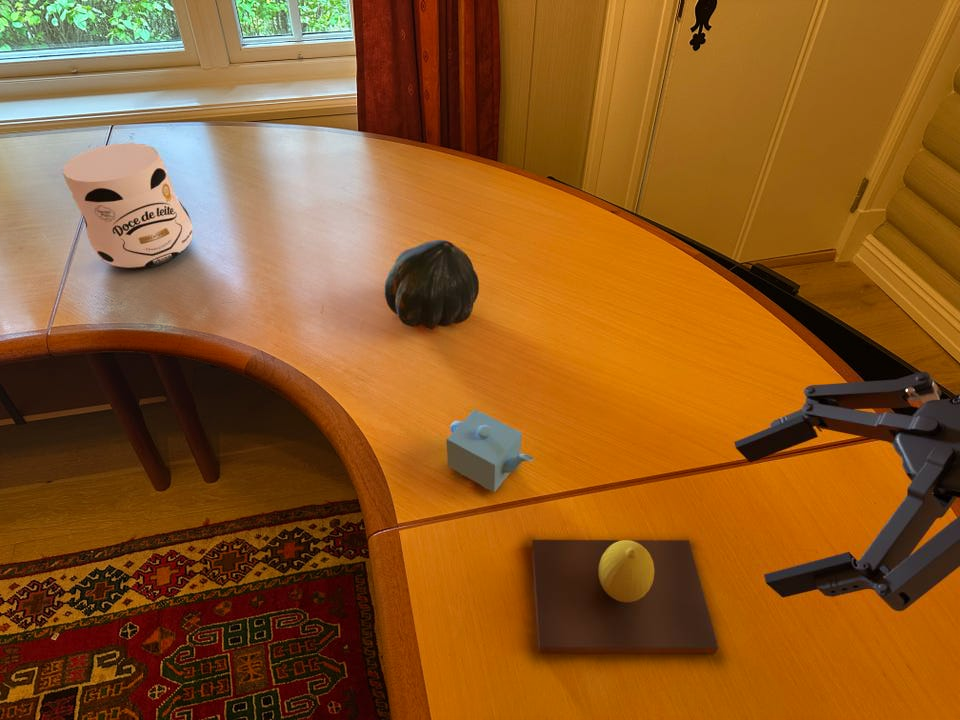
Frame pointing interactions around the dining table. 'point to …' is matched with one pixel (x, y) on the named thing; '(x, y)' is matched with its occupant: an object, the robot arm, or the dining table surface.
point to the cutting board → (618, 602)
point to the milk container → (128, 205)
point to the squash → (432, 285)
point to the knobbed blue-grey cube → (484, 449)
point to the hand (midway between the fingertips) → (755, 513)
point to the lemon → (626, 571)
